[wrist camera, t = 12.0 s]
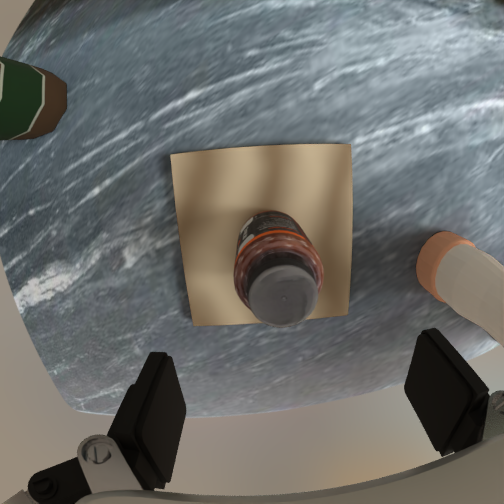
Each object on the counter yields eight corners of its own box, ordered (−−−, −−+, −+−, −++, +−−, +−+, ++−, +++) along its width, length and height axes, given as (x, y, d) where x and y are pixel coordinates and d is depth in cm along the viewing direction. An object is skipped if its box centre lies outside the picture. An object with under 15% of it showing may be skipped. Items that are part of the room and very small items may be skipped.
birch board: (346, 144, 26) (350, 144, 24) (344, 309, 31) (347, 315, 30) (173, 154, 26) (170, 154, 25) (195, 320, 31) (193, 326, 30)
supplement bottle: (226, 224, 27) (210, 271, 16) (288, 198, 26) (315, 227, 15) (253, 281, 28) (255, 354, 18) (312, 257, 28) (347, 319, 17)
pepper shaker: (421, 300, 31) (519, 406, 12) (409, 247, 29) (537, 342, 10) (466, 274, 30) (571, 355, 12) (457, 220, 28) (587, 285, 10)
